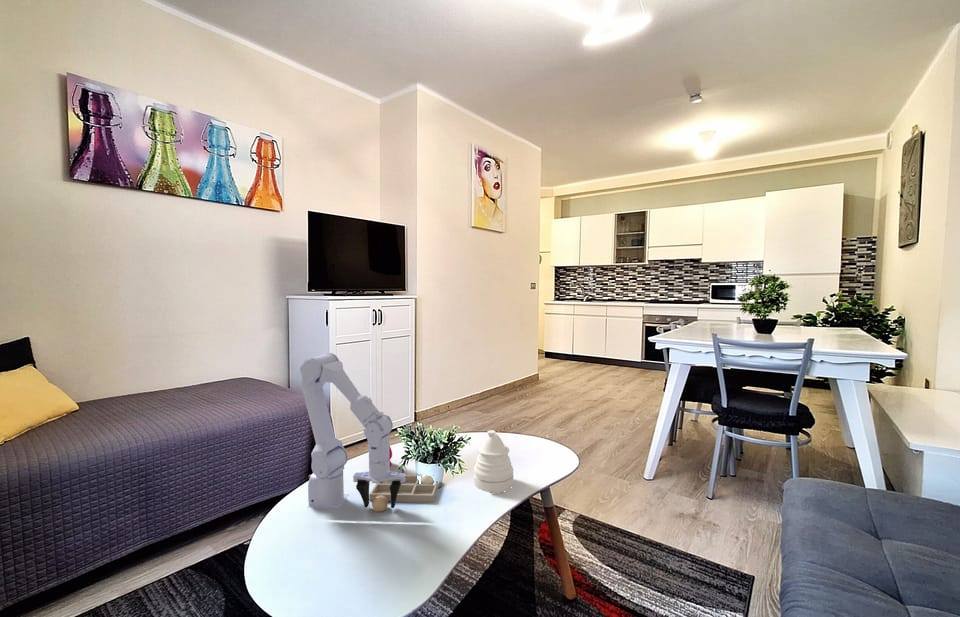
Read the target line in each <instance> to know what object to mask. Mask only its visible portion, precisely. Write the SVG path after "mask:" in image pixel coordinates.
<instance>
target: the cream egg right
mask: <svg viewBox="0 0 960 617" xmlns="http://www.w3.org/2000/svg"><path fill="white" fill-rule="evenodd" d="M422 475H423V474H422ZM433 483H434V480H433V478H432V477H431V476H428V475H423V476H422V477H421V484H422V485H433Z"/></svg>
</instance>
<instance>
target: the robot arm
mask: <svg viewBox="0 0 960 617" xmlns="http://www.w3.org/2000/svg"><path fill="white" fill-rule="evenodd" d="M299 371H300V375H301V389H302V393H303V398H304V402H305V406H306V410H307V413H308V418H309V421H310V425H311V430H312V434H313V437H314V442H315V445H314V448H313V449H312V451H311V454H310V455H311V456H310V457H311V470H312V474H310V476H309V480H308V484H307V486H308V487H307V489H308V490H307V492H308V494H307V496H308V501H307V502H308V505H307V509H309V508H311V509H312V508H313V509H315V508H318V509H340V507H342V505H343V503H344V502H345V501H346V499H347V498H348V497H349V493H348V494H345V492H344V491H345V490H344V483H345V482H344V470H345V465H346V464H347V463H348V460H349V454H348V451H347V450H346V448H345V447H344V445H343V441H342V440H340V439H338V438H336V436H335V433H334V428H333V424H332V419H331V416H330V412H329V408H328V405H327V400H326V396H325V392H324V388H323V387H324V385H325V384H326V383H332V384H333V385H334V386H335V387H336V389H337V390H338V391H340V393H341V394H342V395H343V396H344V397H345V398H346V399H347V401H348V402H349V403H350V404H349V405H350V407H349V409H350V411H351V412H352V413H353V415H354V416H355V417H356V418H357V420H358V421H359V422H360V424H361V425H362V426H363V428H365V429H363V434H364V437H365V438H366V439H367V445H368V471H362V472H355V473H354V474H353V475H352V478H353V481H352V482H353V483H356V485H355V487H356V488H355V489H356V490H357V491H358V493H359V495H360V497H361V500H362V502H363V506H364V508H365V509H366V508H368V507H369V505H370V483H372V484H376V483H379V482H392V484H391V485H390V492H391V501H390V508H391V509H394V508H395V507H396V498H397V494H398V491H399V488H400V485H401V483H404V482H405V480H406V479H405V475H406V473H402V472H401V473H400V472H396V471H391V466H390V461H391V459H390V460H389V445H390V433H391V432H392V430H393V426H394V424H393V420H392V419H391V417H390V416H389V415H388V414H385V413H384V414H382V413H381V412H382V411H379V409H378V408H377V407H376V405H374V403H373V400H372V399H371V397H368V395H364V394H361V393H360V391H359V390H358V389H357V387H356V386H355V384H354V383H353V382H352V380H351V379H350V377H349V376H348V374H347V373H346V372H345V370H344V365H343V362H342V361H340V359H339V358H338V356H337V355H336V354H335V353H333V352H329V353H326V354H321V355H318V356H314V357H313V356H312V357H308V358H306V359H304V361H303V362H302V364H301V365H300V367H299ZM387 434H388V435H387Z"/></svg>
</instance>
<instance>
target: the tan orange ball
mask: <svg viewBox="0 0 960 617" xmlns="http://www.w3.org/2000/svg"><path fill="white" fill-rule="evenodd" d="M388 504H389V501H388V500H387V498H386V497H385V496H383V495H379V496H376V497H375V498H374V500H373V501H371V506H372V507H371V508H372V509H373V511H375V512H376V513H382V512H384V511H385V510H386V509H387V508H388Z"/></svg>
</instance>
